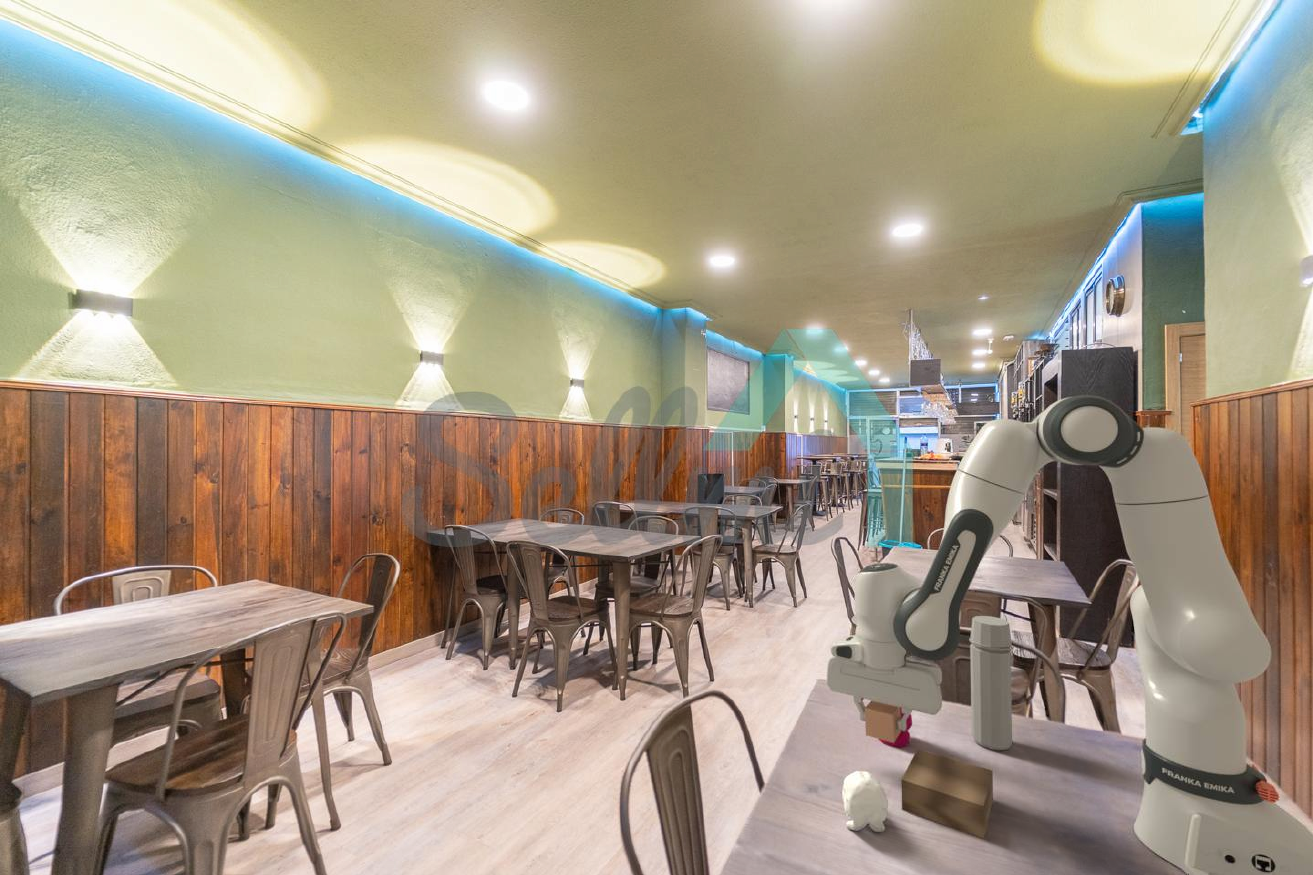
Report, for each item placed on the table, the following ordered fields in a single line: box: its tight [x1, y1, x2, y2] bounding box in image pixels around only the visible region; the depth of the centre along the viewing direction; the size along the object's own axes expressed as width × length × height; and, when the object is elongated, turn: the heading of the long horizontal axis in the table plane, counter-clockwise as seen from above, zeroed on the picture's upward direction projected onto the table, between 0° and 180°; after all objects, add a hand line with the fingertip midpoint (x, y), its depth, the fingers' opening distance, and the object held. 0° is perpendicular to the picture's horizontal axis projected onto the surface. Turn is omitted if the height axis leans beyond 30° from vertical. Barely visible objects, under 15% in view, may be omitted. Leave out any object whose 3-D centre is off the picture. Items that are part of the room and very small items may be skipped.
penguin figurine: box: [840, 770, 889, 833], centre depth 93 cm, size 6×8×12 cm
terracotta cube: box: [864, 700, 901, 743], centre depth 107 cm, size 5×5×5 cm
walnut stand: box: [900, 748, 994, 839], centre depth 96 cm, size 12×12×5 cm
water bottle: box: [968, 615, 1014, 752], centre depth 117 cm, size 9×8×25 cm
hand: (883, 724), depth 107 cm, fingers closed on terracotta cube, 5 cm apart
